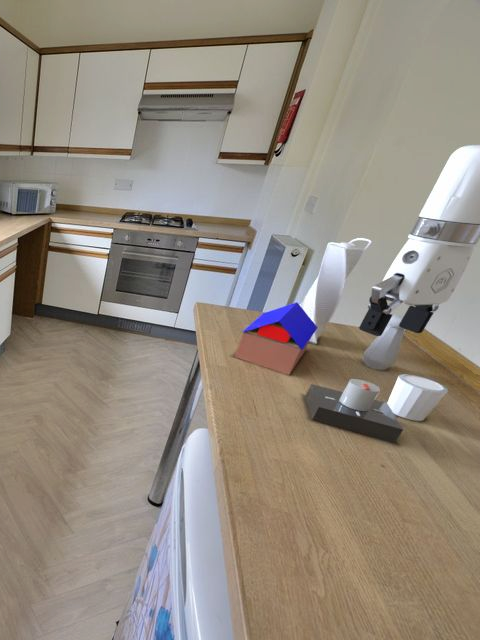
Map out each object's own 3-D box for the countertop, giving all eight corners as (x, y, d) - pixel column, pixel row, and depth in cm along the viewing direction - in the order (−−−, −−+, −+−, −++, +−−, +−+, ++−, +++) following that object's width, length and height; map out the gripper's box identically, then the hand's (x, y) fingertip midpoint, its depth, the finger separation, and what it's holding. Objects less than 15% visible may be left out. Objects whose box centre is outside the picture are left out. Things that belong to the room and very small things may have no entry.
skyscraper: (324, 338, 114) (372, 237, 102) (322, 347, 109) (373, 241, 96) (288, 329, 119) (329, 232, 107) (284, 337, 113) (328, 235, 101)
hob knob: (336, 395, 81) (347, 375, 79) (365, 402, 79) (377, 382, 77) (341, 406, 77) (352, 385, 75) (371, 414, 75) (384, 392, 73)
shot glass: (374, 406, 83) (391, 376, 80) (392, 400, 86) (409, 371, 83) (418, 426, 78) (438, 395, 75) (435, 418, 80) (455, 388, 77)
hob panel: (379, 415, 80) (387, 402, 79) (395, 443, 73) (404, 429, 71) (305, 395, 86) (311, 383, 84) (312, 419, 78) (319, 406, 77)
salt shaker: (358, 358, 104) (383, 310, 98) (388, 365, 101) (416, 316, 95) (361, 366, 99) (387, 317, 94) (392, 374, 97) (422, 324, 91)
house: (306, 350, 106) (326, 309, 101) (290, 375, 94) (311, 329, 88) (254, 335, 114) (270, 295, 109) (232, 356, 101) (248, 313, 96)
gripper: (436, 237, 59) (377, 343, 66) (514, 237, 63) (450, 337, 70) (378, 227, 65) (330, 325, 73) (452, 228, 69) (400, 320, 77)
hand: (389, 331), depth 72 cm, fingers open, 9 cm apart
